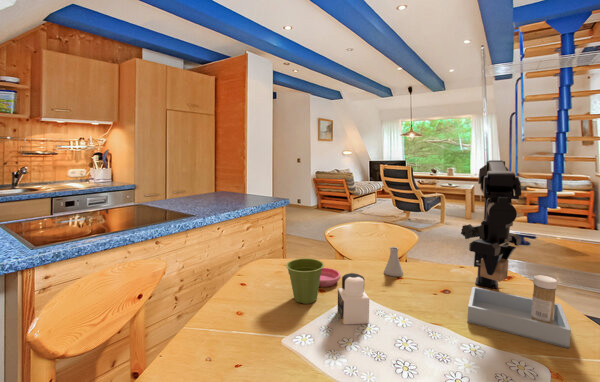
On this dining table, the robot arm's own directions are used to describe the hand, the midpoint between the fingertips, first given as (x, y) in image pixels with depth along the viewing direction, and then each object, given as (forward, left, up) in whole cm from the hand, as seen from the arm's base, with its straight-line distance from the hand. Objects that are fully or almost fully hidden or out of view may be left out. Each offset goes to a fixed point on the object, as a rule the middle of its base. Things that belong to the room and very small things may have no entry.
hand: (494, 272), depth 84 cm
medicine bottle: (+24, -32, -12) cm, 42 cm away
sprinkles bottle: (+4, +11, -11) cm, 16 cm away
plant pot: (+22, -49, -12) cm, 55 cm away
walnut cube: (0, 0, -1) cm, 1 cm away
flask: (-14, -32, -12) cm, 37 cm away
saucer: (+7, -51, -12) cm, 53 cm away
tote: (+2, +5, -12) cm, 13 cm away
